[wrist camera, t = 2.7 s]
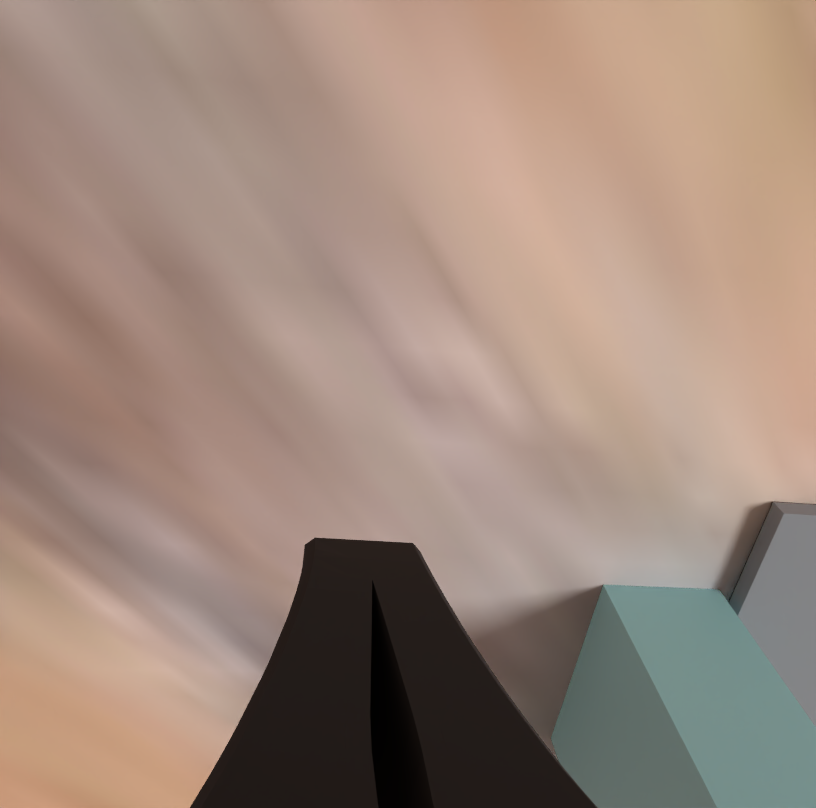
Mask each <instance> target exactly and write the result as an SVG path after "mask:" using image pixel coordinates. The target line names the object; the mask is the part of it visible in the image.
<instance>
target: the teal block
mask: <svg viewBox="0 0 816 808" xmlns="http://www.w3.org/2000/svg"><path fill="white" fill-rule="evenodd" d="M551 740H552V743H553V746H554V749H555V752H556V755H557V758H558V761H559V763H560V764H561V765H562V766H563V768H564V769H565V770H566V771H567V772H568V774H569V775H570V776H571V777H572V778H573V780H574V781H575V782H576V783H577V784H578V786H579V787H580V788H581V789H582V790H583V791H584V793H585V794H586V795H587V796H588V797H589V798H590V799H591V801H592V802H593V803H594V804H595V805H596V806H597V808H816V727H815V725H814V724H813V723H812V721H811V720H810V718H809V717H808V715H807V714H806V713H805V711H804V710H803V708H802V707H801V705H800V704H799V703H798V701H797V700H796V698H795V697H794V695H793V694H792V693H791V691H790V690H789V688H788V687H787V686H786V684H785V683H784V681H783V680H782V678H781V677H780V676H779V674H778V673H777V671H776V670H775V668H774V667H773V666H772V664H771V663H770V661H769V660H768V658H767V657H766V656H765V654H764V653H763V651H762V650H761V648H760V647H759V646H758V644H757V643H756V641H755V640H754V638H753V637H752V636H751V634H750V633H749V631H748V630H747V628H746V627H745V626H744V624H743V623H742V621H741V620H740V618H739V617H738V616H737V614H736V613H735V611H734V610H733V609H732V607H731V606H730V604H729V603H728V601H727V600H726V599H725V597H724V596H723V594H722V593H721V591H720V590H719V589H695V588H670V587H646V586H621V585H603V587H602V590H601V593H600V596H599V599H598V602H597V605H596V607H595V610H594V613H593V616H592V619H591V622H590V625H589V628H588V631H587V634H586V637H585V640H584V643H583V646H582V648H581V651H580V654H579V657H578V660H577V663H576V666H575V669H574V672H573V675H572V678H571V681H570V684H569V687H568V690H567V692H566V695H565V698H564V701H563V704H562V707H561V710H560V713H559V716H558V719H557V722H556V725H555V728H554V731H553V733H552V736H551Z"/></svg>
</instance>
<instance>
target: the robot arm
mask: <svg viewBox="0 0 816 808" xmlns="http://www.w3.org/2000/svg"><path fill="white" fill-rule="evenodd" d="M190 808H597V806H596V805H595V804H594V803H593V802H592V801H591V799H590V798H589V797H588V796H587V795H586V794H585V793H584V791H583V790H582V789H581V788H580V787H579V786H578V784H577V783H576V782H575V781H574V780H573V778H572V777H571V776H570V775H569V774H568V772H567V771H566V770H565V769H564V768H563V766H562V765H561V764H560V763H559V761H558V760H557V759H556V758H555V756H554V755H553V754H552V753H551V751H550V750H549V749H548V747H547V746H546V745H545V744H544V742H543V741H542V740H541V738H540V737H539V736H538V734H537V733H536V732H535V730H534V729H533V728H532V726H531V725H530V724H529V722H528V721H527V720H526V719H525V717H524V716H523V715H522V713H521V712H520V711H519V709H518V708H517V706H516V705H515V704H514V702H513V701H512V699H511V698H510V697H509V695H508V694H507V692H506V691H505V690H504V688H503V687H502V685H501V684H500V683H499V681H498V680H497V678H496V677H495V675H494V674H493V672H492V671H491V669H490V668H489V666H488V665H487V663H486V662H485V660H484V659H483V657H482V656H481V654H480V653H479V651H478V650H477V648H476V647H475V645H474V644H473V642H472V640H471V639H470V637H469V636H468V634H467V633H466V631H465V629H464V628H463V626H462V625H461V623H460V621H459V620H458V618H457V616H456V615H455V613H454V611H453V610H452V608H451V606H450V605H449V603H448V601H447V600H446V598H445V596H444V594H443V593H442V591H441V589H440V587H439V586H438V584H437V582H436V580H435V579H434V577H433V575H432V573H431V571H430V569H429V568H428V566H427V564H426V562H425V560H424V558H423V556H422V554H421V552H420V551H419V550H418V548H417V547H416V546H415V545H414V544H413V543H401V542H383V541H365V540H346V539H328V538H314V539H313V540H311V541H310V542H308V543H307V544H305V549H304V558H303V567H302V573H301V577H300V581H299V584H298V588H297V591H296V594H295V597H294V600H293V603H292V606H291V609H290V612H289V615H288V617H287V620H286V622H285V625H284V627H283V629H282V632H281V634H280V637H279V639H278V642H277V644H276V646H275V649H274V651H273V654H272V656H271V658H270V661H269V663H268V665H267V667H266V670H265V672H264V674H263V676H262V678H261V680H260V682H259V684H258V686H257V688H256V690H255V692H254V694H253V696H252V698H251V700H250V702H249V704H248V706H247V708H246V710H245V712H244V714H243V716H242V718H241V720H240V722H239V724H238V726H237V727H236V729H235V731H234V733H233V735H232V737H231V739H230V740H229V742H228V744H227V746H226V748H225V749H224V751H223V753H222V755H221V757H220V758H219V760H218V762H217V763H216V765H215V767H214V769H213V770H212V772H211V774H210V776H209V777H208V779H207V781H206V782H205V784H204V785H203V787H202V789H201V790H200V792H199V794H198V795H197V797H196V799H195V800H194V802H193V804H192V805H191V807H190Z"/></svg>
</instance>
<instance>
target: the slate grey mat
mask: <svg viewBox="0 0 816 808" xmlns="http://www.w3.org/2000/svg"><path fill="white" fill-rule="evenodd" d="M729 604H730V606H731V607H732V609H733V610H734V611H735V613H736V614H737V616H738V617H739V618H740V620H741V621H742V623H743V624H744V626H745V627H746V628H747V630H748V631H749V633H750V634H751V636H752V637H753V638H754V640H755V641H756V643H757V644H758V646H759V647H760V648H761V650H762V651H763V653H764V654H765V656H766V657H767V658H768V660H769V661H770V663H771V664H772V666H773V667H774V668H775V670H776V671H777V673H778V674H779V676H780V677H781V678H782V680H783V681H784V683H785V684H786V686H787V687H788V688H789V690H790V691H791V693H792V694H793V695H794V697H795V698H796V700H797V701H798V703H799V704H800V705H801V707H802V708H803V710H804V711H805V713H806V714H807V715H808V717H809V718H810V720H811V721H812V723H813V724H814V725H815V727H816V505H814V504H799V503H783V502H773V504H772V506H771V508H770V510H769V513H768V515H767V517H766V519H765V522H764V524H763V526H762V529H761V531H760V533H759V535H758V538H757V540H756V542H755V544H754V547H753V549H752V551H751V554H750V556H749V558H748V560H747V563H746V565H745V567H744V569H743V572H742V574H741V576H740V579H739V581H738V583H737V585H736V588H735V590H734V592H733V594H732V597H731V599H730V601H729Z"/></svg>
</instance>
